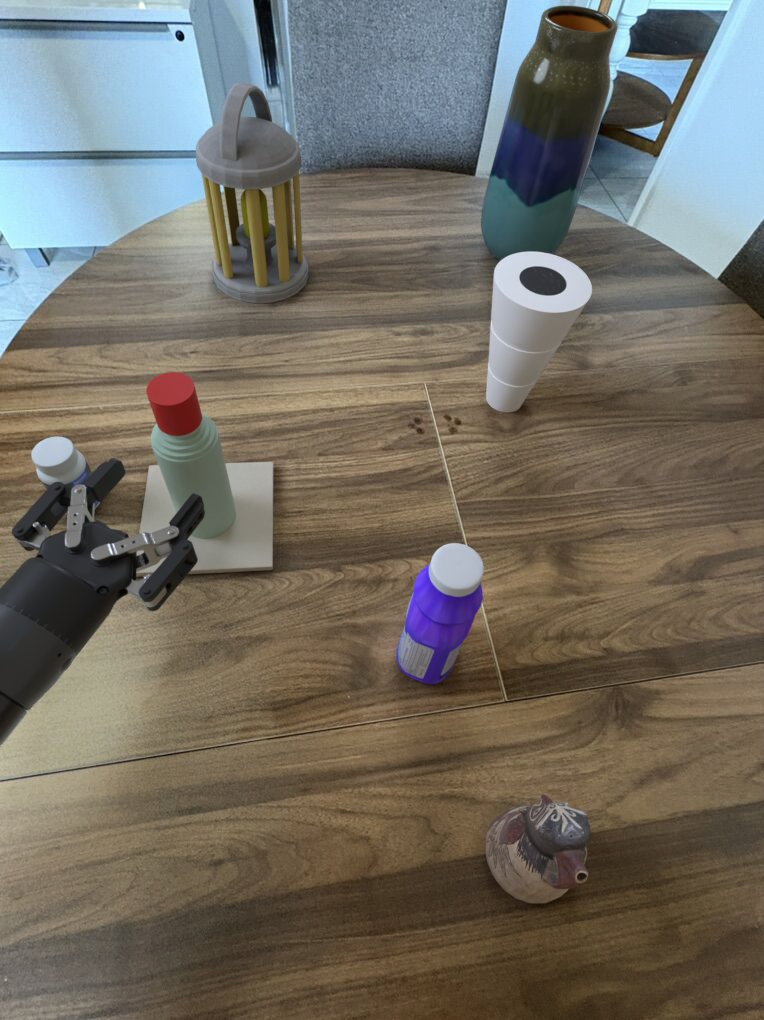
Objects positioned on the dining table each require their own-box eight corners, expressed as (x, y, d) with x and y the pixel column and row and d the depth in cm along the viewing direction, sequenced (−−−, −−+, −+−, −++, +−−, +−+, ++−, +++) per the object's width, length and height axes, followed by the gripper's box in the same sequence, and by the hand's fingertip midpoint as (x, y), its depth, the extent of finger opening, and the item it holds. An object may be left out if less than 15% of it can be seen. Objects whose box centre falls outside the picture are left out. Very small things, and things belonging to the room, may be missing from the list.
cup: (506, 360, 85) (543, 241, 70) (560, 408, 81) (612, 291, 66) (447, 390, 81) (473, 270, 66) (501, 441, 77) (542, 325, 62)
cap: (153, 436, 53) (142, 405, 50) (158, 403, 55) (148, 372, 52) (200, 435, 53) (192, 405, 50) (203, 403, 55) (196, 371, 52)
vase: (521, 289, 95) (592, 50, 69) (456, 246, 100) (500, 10, 74) (575, 257, 101) (659, 26, 75) (511, 218, 106) (569, -10, 80)
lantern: (238, 237, 97) (214, 51, 77) (322, 259, 96) (320, 75, 75) (196, 288, 89) (155, 96, 69) (286, 313, 88) (272, 124, 67)
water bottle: (176, 539, 65) (129, 419, 49) (182, 493, 68) (139, 368, 53) (234, 537, 65) (205, 418, 50) (237, 491, 69) (210, 367, 53)
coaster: (134, 577, 63) (132, 573, 62) (150, 469, 71) (149, 465, 70) (273, 570, 64) (272, 566, 64) (273, 465, 72) (273, 461, 71)
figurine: (563, 808, 53) (616, 781, 43) (574, 906, 49) (636, 900, 39) (481, 804, 53) (516, 776, 43) (486, 902, 49) (526, 895, 39)
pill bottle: (97, 518, 66) (70, 470, 59) (52, 517, 66) (19, 469, 59) (108, 483, 69) (83, 433, 62) (64, 481, 69) (35, 432, 62)
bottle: (412, 610, 63) (436, 516, 49) (464, 630, 62) (505, 541, 48) (386, 674, 59) (405, 592, 45) (442, 697, 58) (479, 621, 44)
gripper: (91, 654, 42) (221, 486, 51) (-69, 572, 45) (80, 426, 54) (121, 689, 49) (232, 534, 57) (-21, 615, 51) (106, 477, 60)
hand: (159, 481), depth 55 cm, fingers open, 8 cm apart
